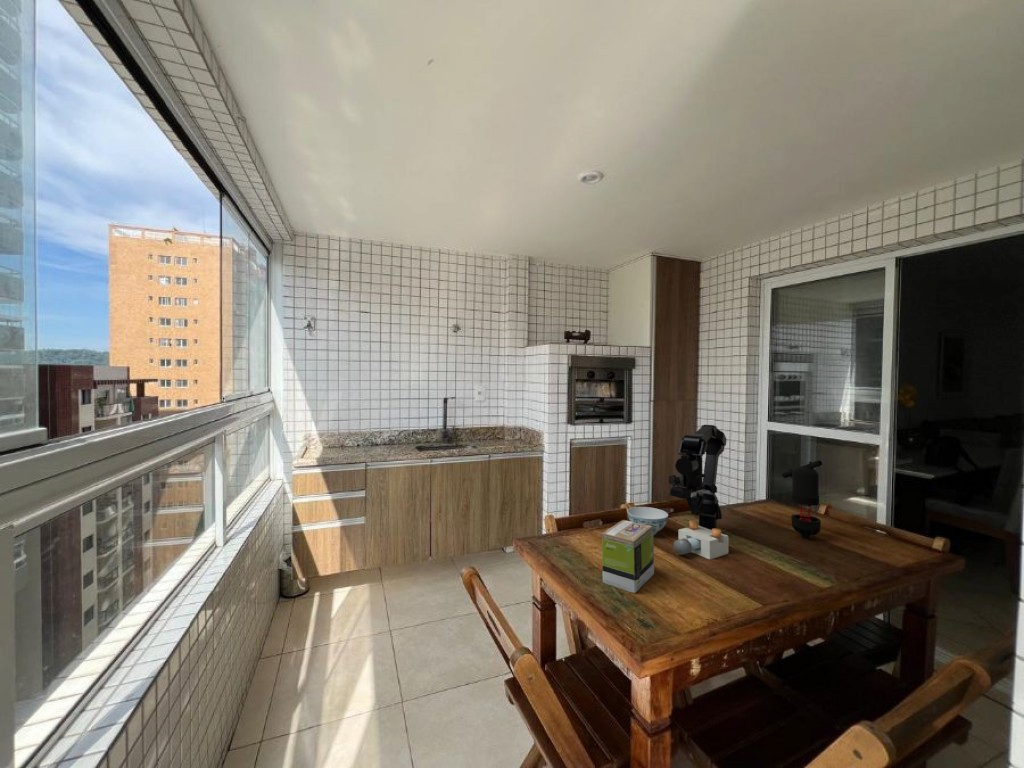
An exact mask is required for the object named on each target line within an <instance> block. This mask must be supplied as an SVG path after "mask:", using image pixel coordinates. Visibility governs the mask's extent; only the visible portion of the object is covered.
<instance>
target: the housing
mask: <svg viewBox="0 0 1024 768" xmlns="http://www.w3.org/2000/svg"><path fill="white" fill-rule="evenodd" d="M692 537H693V538H696V539H699V540H701V548H699V549H695V550H692V551H691V552H690V553H692V554H695V555H698V556H701V557H702V558H705V559H708V560H709V561H710V560H712V559H716V558H719V557H722V556H725V555H729V535H727V534H724V533H722V532H721V539H717V538H714V537H712V530H710V529H707V528H704V527H701V526H699V525H698V530H692V529H689V527H684V528H680V529H678V540H679V539H683V538H685V539H688V538H692Z"/></svg>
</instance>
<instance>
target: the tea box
mask: <svg viewBox="0 0 1024 768" xmlns="http://www.w3.org/2000/svg"><path fill="white" fill-rule="evenodd" d="M601 535H602V536H601V545H602V546H601V547H602V550H601V552H602V555H601V556H602V559H601V561H602V562H601V563H602V583H603V584H605V585H608V586H611V587H613V588H617V589H620V590H623V591H625V592H629V593H632V594H636V593H637V592H638V591H639V590H640V588H641V587H643V586H644V585H645V583H647V581H649V579H651V577H652V576H653V575H654V574H655V562H654V561H655V557H654V556H655V555H654V552H655V551H654V535H653V526H650V525H645V524H640V523H635V522H631V521H630V520H626V519H622V520H620V521H619V522H617V523H616V524H614V525H613V526H611V527H610V528H608V529H606V530H604V532H602V534H601Z"/></svg>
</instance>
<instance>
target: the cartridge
mask: <svg viewBox="0 0 1024 768" xmlns="http://www.w3.org/2000/svg"><path fill="white" fill-rule="evenodd" d="M699 548H701V540H699V539H696V538H693V537H692V538H688V539H685V538H683V539H679V538H678V539H676V540H675V541H674V542H673V549H674V550H675V552H676V553H677V554H679V555H686V554H689V553H692V552H691V551H692V550H695V549H699Z"/></svg>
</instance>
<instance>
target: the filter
mask: <svg viewBox="0 0 1024 768" xmlns="http://www.w3.org/2000/svg"><path fill="white" fill-rule="evenodd" d="M821 466H823V462H822V461H821V460H820V459H818V460H815V461H813V462H812V461H809V462H808V464H805V465H802V466H798V467H795V468H789V469H788V471H784V472H783V473H781V476H782V477H783V478H784V479H785V478H789V477H790V478H791V479H792V481H791V482H792V484H791V485H792V490H791V501H792V502H793V503H795V504H798V505H800V507H799V508H798V510H799V511H800V512H799V514H796V513H795V514H791V516H790V519H791V521H790V522H791V526H792V528H793V529H794V531H795V532H796V533H799V534H800V535H801V538H802V539H804V540H810V539H811V536H816V535H818V534H819V533H820V531H821V523H822V522H821V521H822V520H821V519H819V518H818V517H815V516H813V515H811V512H812V509H811V507H812V506H814V507H815V506H819V505H820V494H819V493H820V492H819V486H820V483H819V482H820V481H819V479H820V477H819V474H820V473H819V472H818V471H817V470H816V469H815V468H820V467H821ZM805 507H808V508H805ZM804 512H806V513H804Z"/></svg>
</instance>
